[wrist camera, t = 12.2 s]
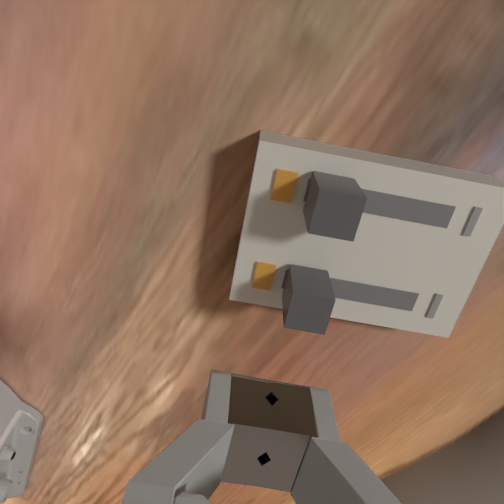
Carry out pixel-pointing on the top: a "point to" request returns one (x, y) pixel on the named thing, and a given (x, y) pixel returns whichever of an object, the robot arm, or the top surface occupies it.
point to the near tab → (333, 206)
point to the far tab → (307, 299)
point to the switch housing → (369, 234)
